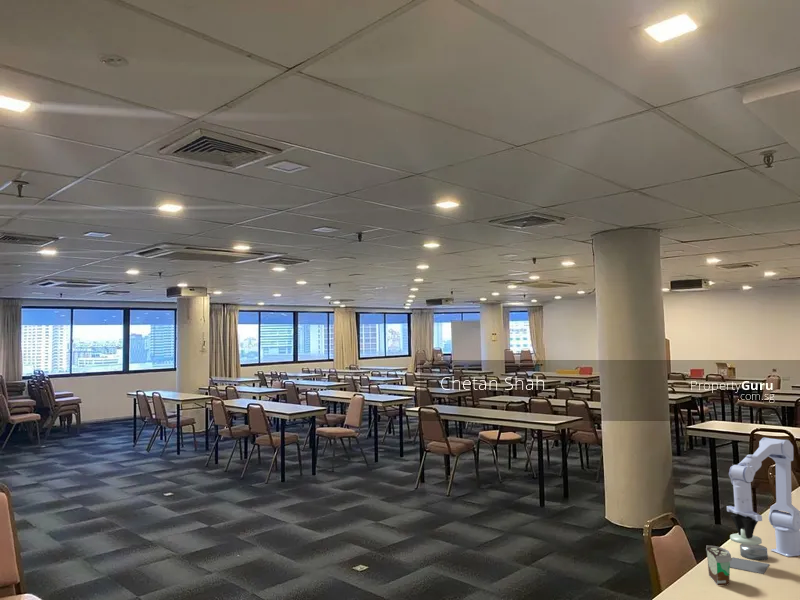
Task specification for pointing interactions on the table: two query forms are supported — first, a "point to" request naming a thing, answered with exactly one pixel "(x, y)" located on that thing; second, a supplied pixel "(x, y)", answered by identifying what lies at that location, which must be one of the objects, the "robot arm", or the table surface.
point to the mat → (748, 565)
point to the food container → (718, 564)
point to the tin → (753, 552)
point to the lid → (743, 539)
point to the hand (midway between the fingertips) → (745, 536)
